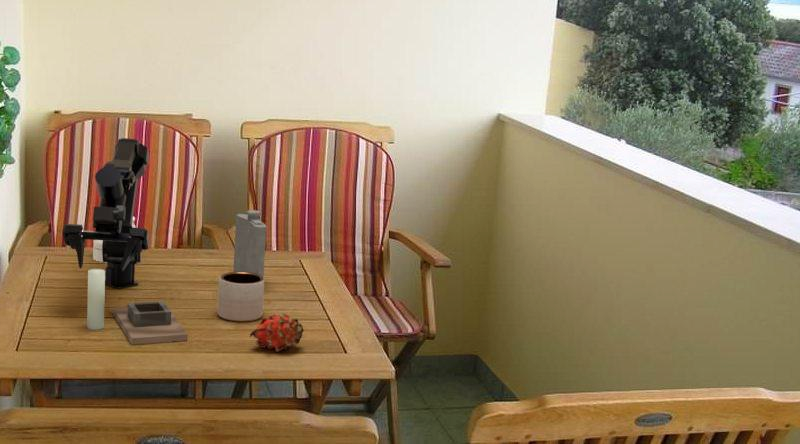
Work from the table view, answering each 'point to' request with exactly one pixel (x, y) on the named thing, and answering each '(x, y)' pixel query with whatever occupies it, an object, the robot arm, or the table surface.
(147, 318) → the keeper
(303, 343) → the table surface
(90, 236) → the robot arm
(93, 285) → the pale green peg
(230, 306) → the planter
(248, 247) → the hip flask
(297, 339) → the dragon fruit
